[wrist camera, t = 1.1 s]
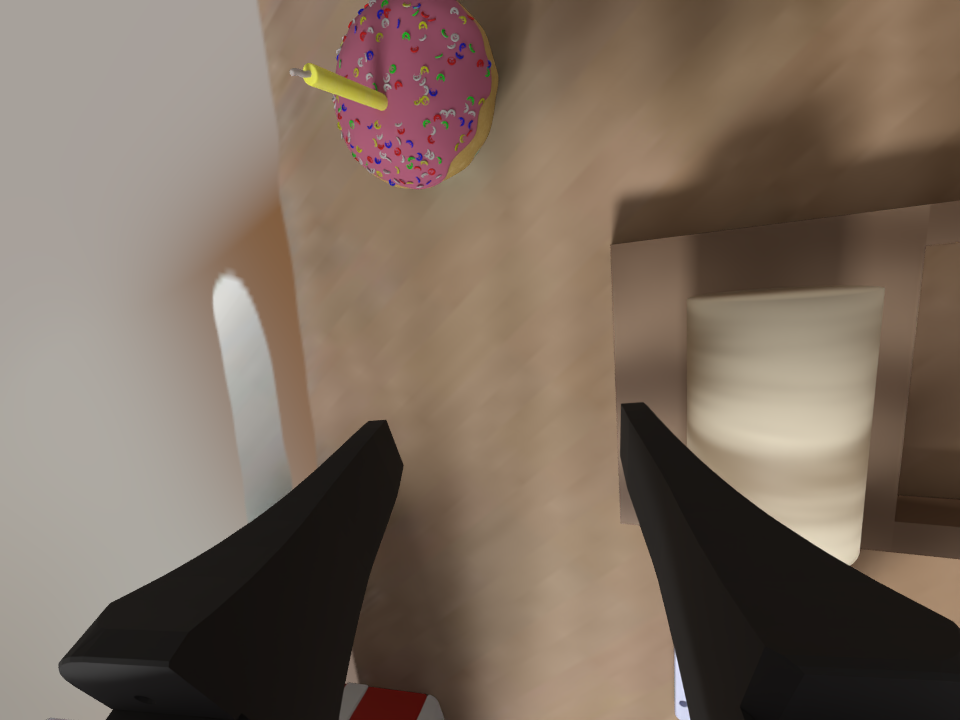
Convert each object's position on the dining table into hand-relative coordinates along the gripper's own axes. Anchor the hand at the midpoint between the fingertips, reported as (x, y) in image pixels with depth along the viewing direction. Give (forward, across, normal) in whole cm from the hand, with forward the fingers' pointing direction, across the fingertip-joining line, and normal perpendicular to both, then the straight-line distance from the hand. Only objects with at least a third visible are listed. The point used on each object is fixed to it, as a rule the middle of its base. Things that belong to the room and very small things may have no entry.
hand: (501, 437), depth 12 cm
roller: (+5, -10, +4) cm, 12 cm away
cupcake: (+18, +3, -9) cm, 20 cm away
